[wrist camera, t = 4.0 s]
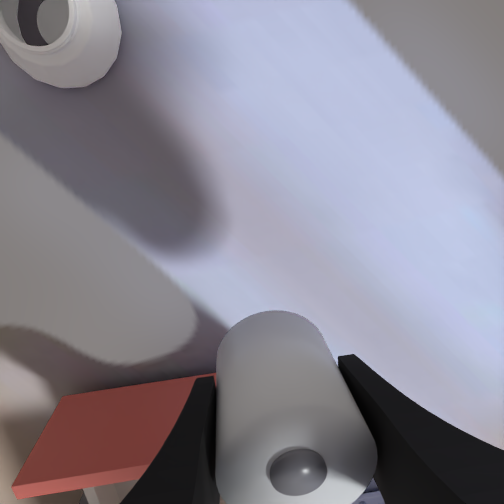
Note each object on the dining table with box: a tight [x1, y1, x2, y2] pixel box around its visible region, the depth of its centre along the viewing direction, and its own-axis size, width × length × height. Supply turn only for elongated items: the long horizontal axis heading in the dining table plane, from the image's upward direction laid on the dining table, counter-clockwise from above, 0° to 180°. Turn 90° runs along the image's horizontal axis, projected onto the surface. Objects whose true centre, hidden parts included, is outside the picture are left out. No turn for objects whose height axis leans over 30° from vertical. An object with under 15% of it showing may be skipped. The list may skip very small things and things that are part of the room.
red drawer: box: [11, 373, 226, 504], centre depth 20 cm, size 12×11×6 cm
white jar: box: [0, 0, 122, 88], centre depth 14 cm, size 5×3×5 cm
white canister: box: [215, 310, 378, 504], centre depth 12 cm, size 5×5×5 cm
